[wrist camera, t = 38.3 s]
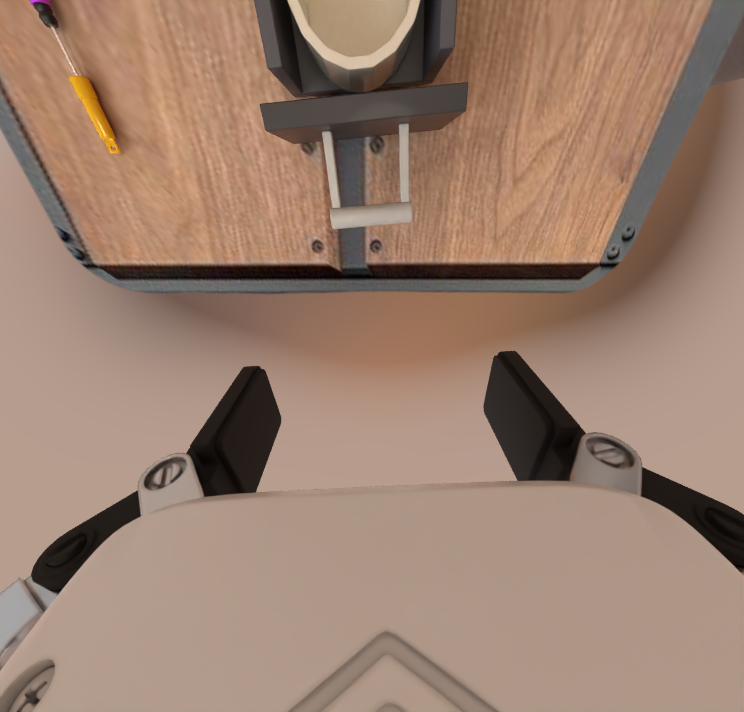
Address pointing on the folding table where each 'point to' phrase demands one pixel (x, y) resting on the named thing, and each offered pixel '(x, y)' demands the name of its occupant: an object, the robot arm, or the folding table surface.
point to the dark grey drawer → (361, 99)
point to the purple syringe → (80, 81)
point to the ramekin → (356, 38)
